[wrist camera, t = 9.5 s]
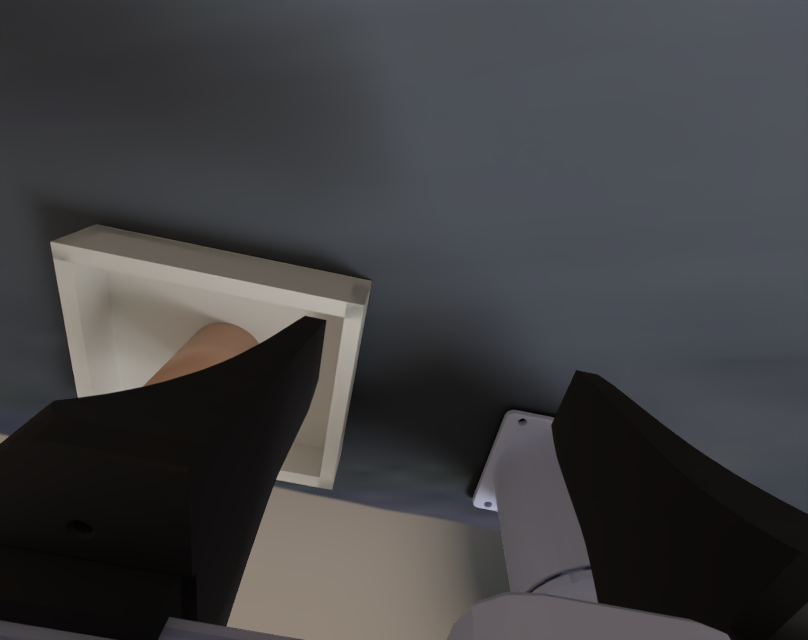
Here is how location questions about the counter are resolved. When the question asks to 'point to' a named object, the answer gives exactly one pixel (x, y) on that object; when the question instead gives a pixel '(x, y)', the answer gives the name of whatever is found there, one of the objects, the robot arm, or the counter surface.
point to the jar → (206, 350)
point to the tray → (205, 321)
